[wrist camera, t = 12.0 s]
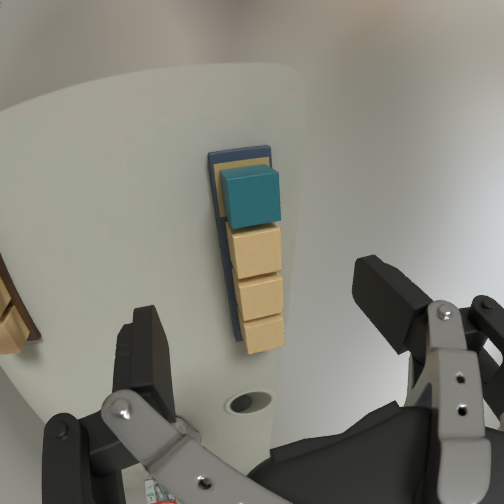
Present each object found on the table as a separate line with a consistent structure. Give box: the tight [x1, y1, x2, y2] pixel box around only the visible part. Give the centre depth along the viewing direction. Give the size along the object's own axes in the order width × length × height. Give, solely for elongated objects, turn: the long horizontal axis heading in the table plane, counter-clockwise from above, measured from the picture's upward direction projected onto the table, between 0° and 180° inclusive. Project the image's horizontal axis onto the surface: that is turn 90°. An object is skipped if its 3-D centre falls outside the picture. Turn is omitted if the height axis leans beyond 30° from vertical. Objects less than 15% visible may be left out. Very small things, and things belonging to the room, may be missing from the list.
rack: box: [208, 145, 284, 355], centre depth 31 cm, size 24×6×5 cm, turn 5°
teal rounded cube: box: [219, 164, 281, 229], centre depth 27 cm, size 4×4×4 cm
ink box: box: [145, 479, 177, 504], centre depth 53 cm, size 4×8×15 cm, turn 121°
